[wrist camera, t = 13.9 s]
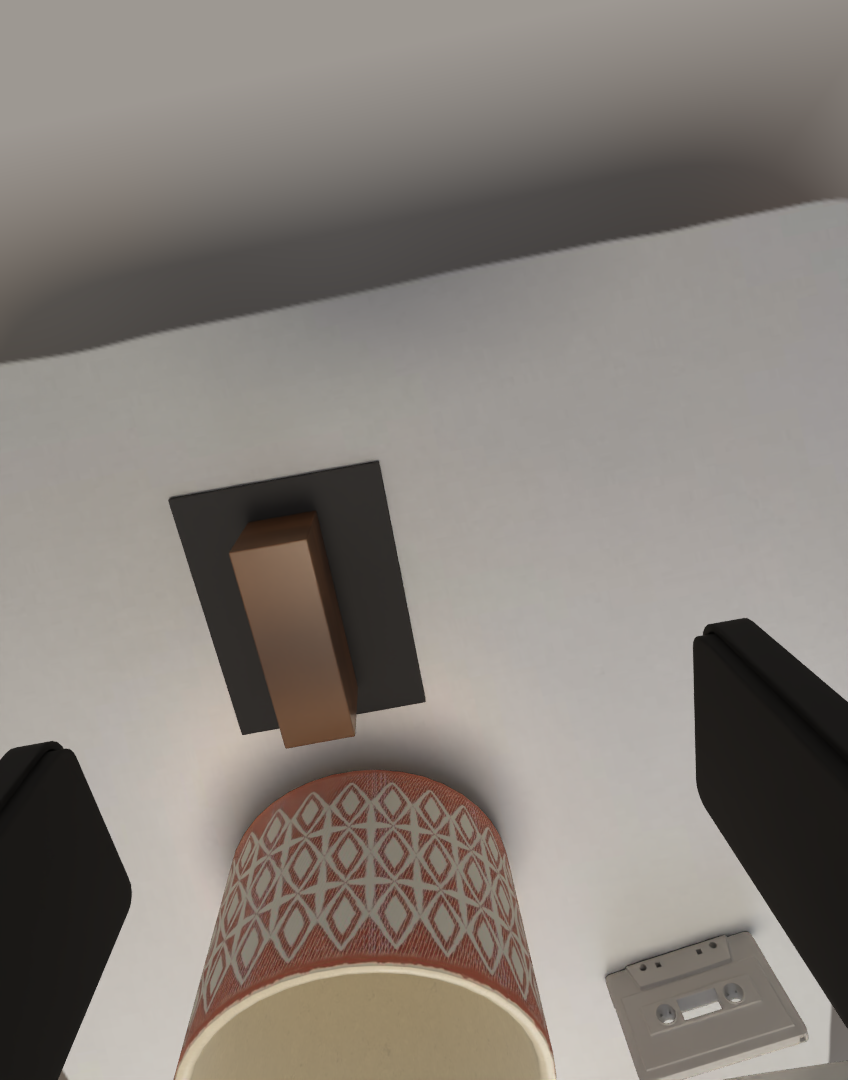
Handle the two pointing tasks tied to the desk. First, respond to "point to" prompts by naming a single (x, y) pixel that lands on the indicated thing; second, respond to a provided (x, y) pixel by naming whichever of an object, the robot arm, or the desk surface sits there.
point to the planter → (369, 944)
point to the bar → (297, 627)
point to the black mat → (357, 571)
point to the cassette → (693, 983)
